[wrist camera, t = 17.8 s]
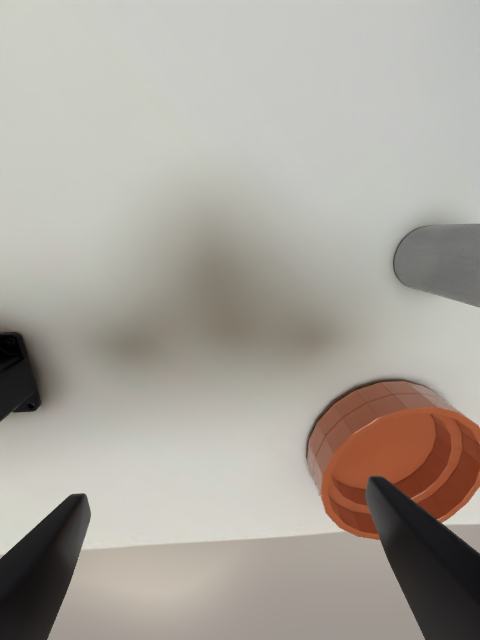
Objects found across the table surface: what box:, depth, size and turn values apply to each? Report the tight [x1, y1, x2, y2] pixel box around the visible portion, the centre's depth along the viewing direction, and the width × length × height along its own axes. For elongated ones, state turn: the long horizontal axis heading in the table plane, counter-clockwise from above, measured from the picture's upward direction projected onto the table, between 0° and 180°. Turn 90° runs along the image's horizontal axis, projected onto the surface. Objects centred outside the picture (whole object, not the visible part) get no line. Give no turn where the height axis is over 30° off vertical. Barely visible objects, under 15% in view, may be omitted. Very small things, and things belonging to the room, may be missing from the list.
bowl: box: [307, 381, 480, 540], centre depth 23 cm, size 14×14×4 cm
